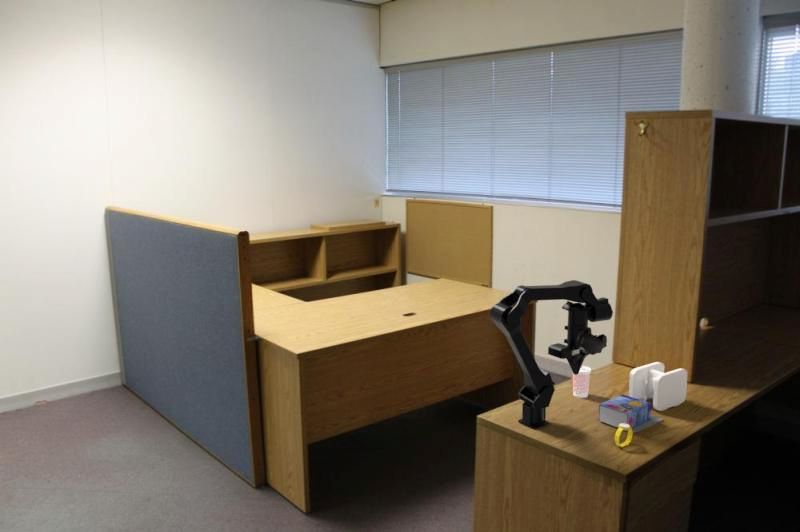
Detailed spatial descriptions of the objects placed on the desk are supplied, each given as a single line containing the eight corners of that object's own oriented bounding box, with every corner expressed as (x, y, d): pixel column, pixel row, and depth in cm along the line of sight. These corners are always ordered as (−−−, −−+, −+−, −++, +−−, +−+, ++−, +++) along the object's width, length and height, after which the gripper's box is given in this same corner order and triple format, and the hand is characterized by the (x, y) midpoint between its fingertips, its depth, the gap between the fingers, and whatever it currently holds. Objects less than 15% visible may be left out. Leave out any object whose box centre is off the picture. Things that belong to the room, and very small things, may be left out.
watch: (625, 441, 184) (627, 421, 183) (634, 445, 182) (636, 424, 181) (611, 446, 181) (613, 425, 180) (620, 450, 178) (622, 428, 178)
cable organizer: (655, 414, 201) (657, 378, 199) (626, 403, 210) (628, 368, 207) (686, 403, 209) (688, 368, 206) (657, 393, 217) (659, 359, 215)
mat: (632, 433, 188) (632, 432, 188) (597, 420, 198) (597, 418, 198) (664, 420, 196) (664, 419, 196) (629, 407, 206) (629, 406, 206)
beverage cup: (584, 390, 221) (585, 350, 218) (594, 397, 215) (595, 355, 212) (567, 392, 219) (568, 351, 217) (577, 399, 213) (578, 357, 211)
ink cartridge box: (598, 402, 195) (626, 391, 204) (597, 420, 196) (625, 408, 205) (628, 413, 188) (656, 401, 197) (627, 431, 189) (655, 418, 198)
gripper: (577, 335, 185) (575, 388, 188) (621, 324, 195) (618, 375, 198) (547, 326, 194) (545, 377, 197) (590, 316, 204) (588, 365, 207)
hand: (575, 374), depth 199 cm, fingers closed
